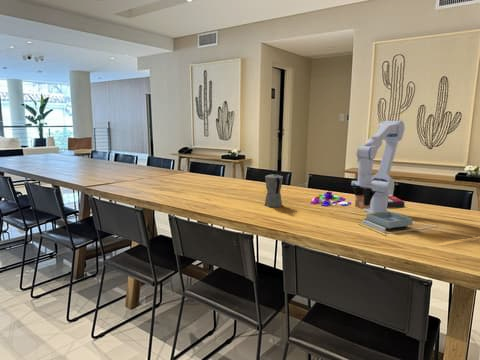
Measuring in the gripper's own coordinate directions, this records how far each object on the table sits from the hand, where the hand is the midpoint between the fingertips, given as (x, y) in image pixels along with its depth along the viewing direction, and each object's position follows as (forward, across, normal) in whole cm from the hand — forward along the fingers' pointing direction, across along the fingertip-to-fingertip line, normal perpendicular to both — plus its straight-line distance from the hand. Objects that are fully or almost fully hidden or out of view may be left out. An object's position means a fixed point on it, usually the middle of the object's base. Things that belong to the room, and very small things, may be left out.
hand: (362, 203), depth 151 cm
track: (+7, +14, +7) cm, 17 cm away
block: (+2, 0, 0) cm, 2 cm away
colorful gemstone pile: (+8, -33, +8) cm, 35 cm away
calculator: (+8, -18, +32) cm, 38 cm away
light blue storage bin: (+6, +14, +1) cm, 15 cm away
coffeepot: (+7, -35, -26) cm, 44 cm away
